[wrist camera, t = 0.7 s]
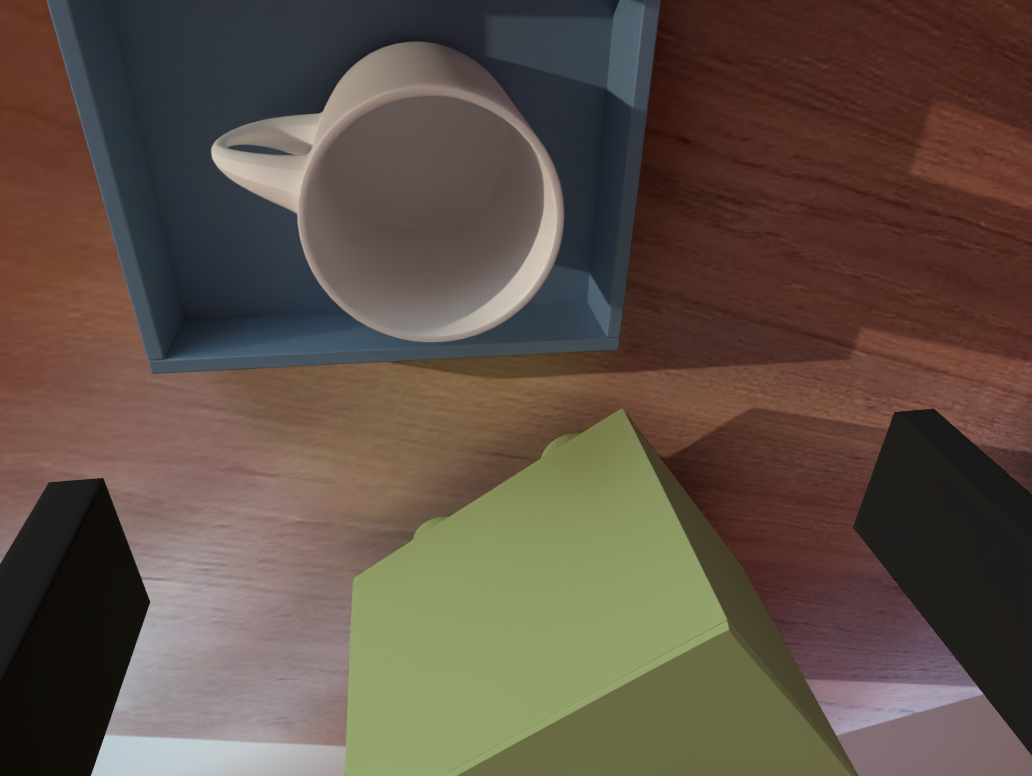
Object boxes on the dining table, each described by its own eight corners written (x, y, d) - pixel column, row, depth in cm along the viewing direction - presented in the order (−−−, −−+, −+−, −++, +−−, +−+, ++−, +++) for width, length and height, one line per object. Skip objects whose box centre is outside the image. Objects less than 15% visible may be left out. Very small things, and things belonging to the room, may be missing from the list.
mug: (241, -4, 28) (175, 30, 19) (534, 61, 31) (595, 116, 22) (236, 208, 33) (181, 315, 24) (495, 248, 35) (532, 356, 27)
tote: (58, -131, 26) (6, -140, 22) (638, -105, 29) (675, -110, 25) (174, 329, 36) (151, 374, 32) (597, 310, 39) (618, 350, 35)
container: (610, 382, 41) (764, 692, 25) (725, 536, 50) (898, 844, 33) (353, 548, 45) (336, 914, 28) (501, 665, 53) (554, 999, 37)
